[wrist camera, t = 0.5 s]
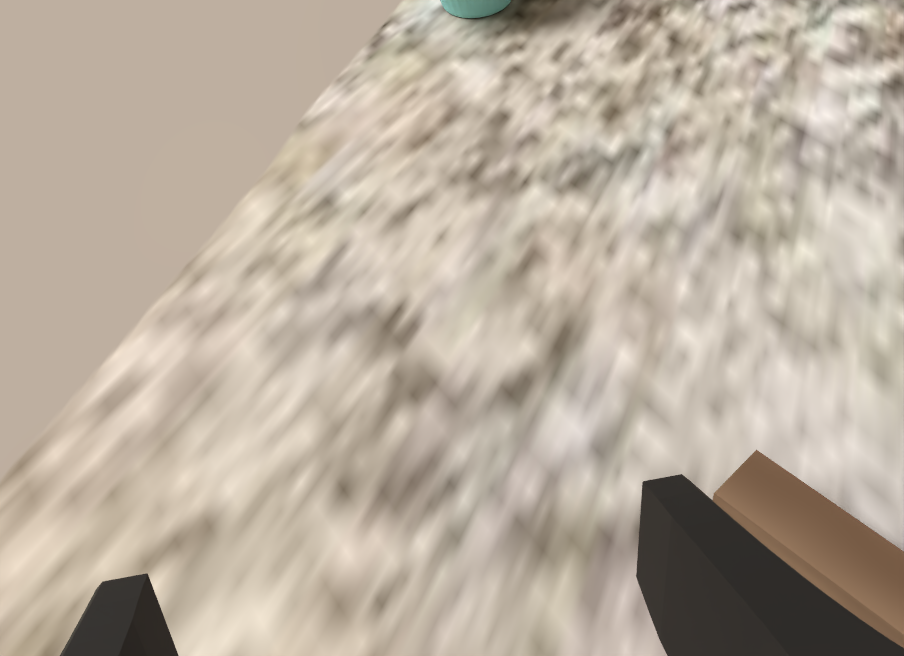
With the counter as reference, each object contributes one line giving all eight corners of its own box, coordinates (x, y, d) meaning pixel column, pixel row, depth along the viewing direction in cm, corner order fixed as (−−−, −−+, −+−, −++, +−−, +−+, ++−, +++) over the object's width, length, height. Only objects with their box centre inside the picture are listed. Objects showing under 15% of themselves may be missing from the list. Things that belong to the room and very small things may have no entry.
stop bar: (1046, 790, 25) (1084, 769, 23) (706, 526, 31) (714, 492, 29) (1085, 730, 26) (1125, 704, 24) (746, 485, 32) (756, 450, 30)
